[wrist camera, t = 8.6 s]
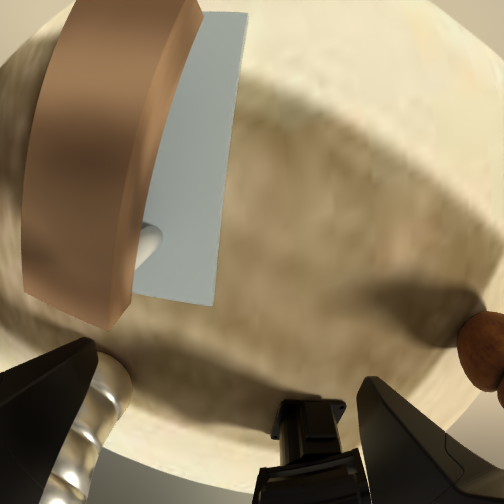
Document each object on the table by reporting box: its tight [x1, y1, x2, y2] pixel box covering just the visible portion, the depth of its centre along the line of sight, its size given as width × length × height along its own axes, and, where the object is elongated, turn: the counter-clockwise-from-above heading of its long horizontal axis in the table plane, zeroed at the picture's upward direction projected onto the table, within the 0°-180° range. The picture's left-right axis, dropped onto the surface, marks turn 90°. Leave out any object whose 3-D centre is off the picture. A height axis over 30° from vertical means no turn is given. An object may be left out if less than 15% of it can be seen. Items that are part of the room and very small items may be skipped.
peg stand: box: [132, 12, 248, 306], centre depth 15 cm, size 20×12×5 cm, turn 173°
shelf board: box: [21, 0, 204, 332], centre depth 11 cm, size 16×6×3 cm, turn 163°
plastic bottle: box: [39, 352, 133, 504], centre depth 15 cm, size 6×7×20 cm
